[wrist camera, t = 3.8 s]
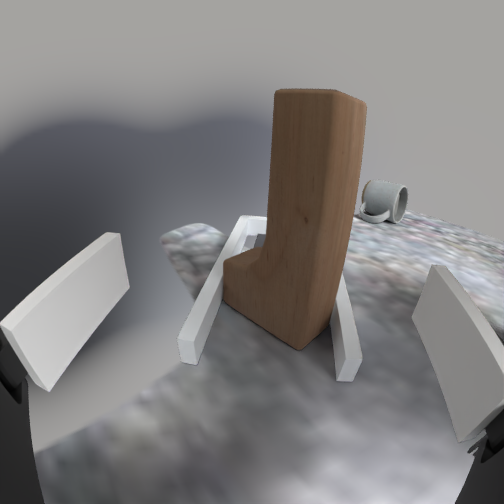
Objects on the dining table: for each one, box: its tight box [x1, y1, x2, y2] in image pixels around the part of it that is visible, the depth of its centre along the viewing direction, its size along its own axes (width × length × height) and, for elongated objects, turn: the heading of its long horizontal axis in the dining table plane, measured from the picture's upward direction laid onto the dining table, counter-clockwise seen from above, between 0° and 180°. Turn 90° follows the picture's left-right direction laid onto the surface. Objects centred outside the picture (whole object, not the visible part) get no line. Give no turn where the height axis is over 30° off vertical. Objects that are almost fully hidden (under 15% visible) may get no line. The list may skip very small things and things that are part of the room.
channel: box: [177, 215, 363, 382], centre depth 28 cm, size 12×25×2 cm, turn 172°
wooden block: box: [223, 89, 367, 350], centre depth 20 cm, size 9×4×18 cm, turn 45°
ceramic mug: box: [360, 180, 408, 223], centre depth 49 cm, size 11×8×8 cm
